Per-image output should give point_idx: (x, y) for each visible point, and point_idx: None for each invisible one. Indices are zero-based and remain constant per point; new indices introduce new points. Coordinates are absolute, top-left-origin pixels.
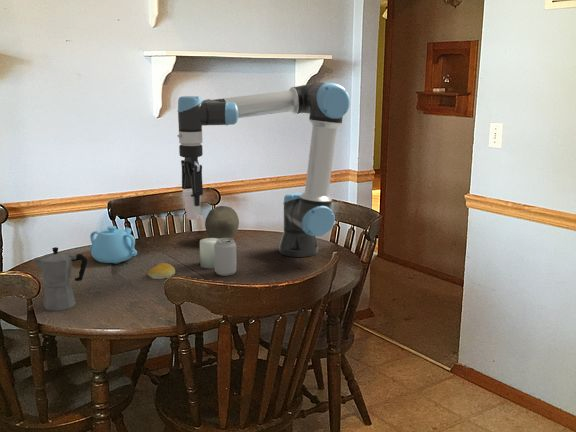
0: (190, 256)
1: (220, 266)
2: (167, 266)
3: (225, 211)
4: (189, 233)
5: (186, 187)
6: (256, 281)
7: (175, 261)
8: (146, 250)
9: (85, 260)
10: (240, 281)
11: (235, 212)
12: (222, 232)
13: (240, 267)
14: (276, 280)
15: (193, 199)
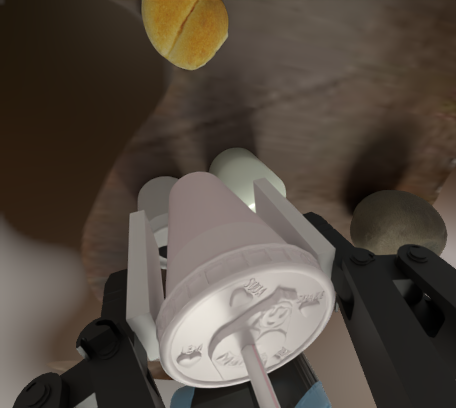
0: (311, 133)
1: (143, 196)
2: (185, 42)
3: None
4: (451, 152)
5: (355, 297)
6: (91, 251)
7: (292, 89)
8: (413, 21)
9: None
10: (95, 222)
11: None
12: (357, 223)
13: None
14: (94, 283)
15: (129, 300)
